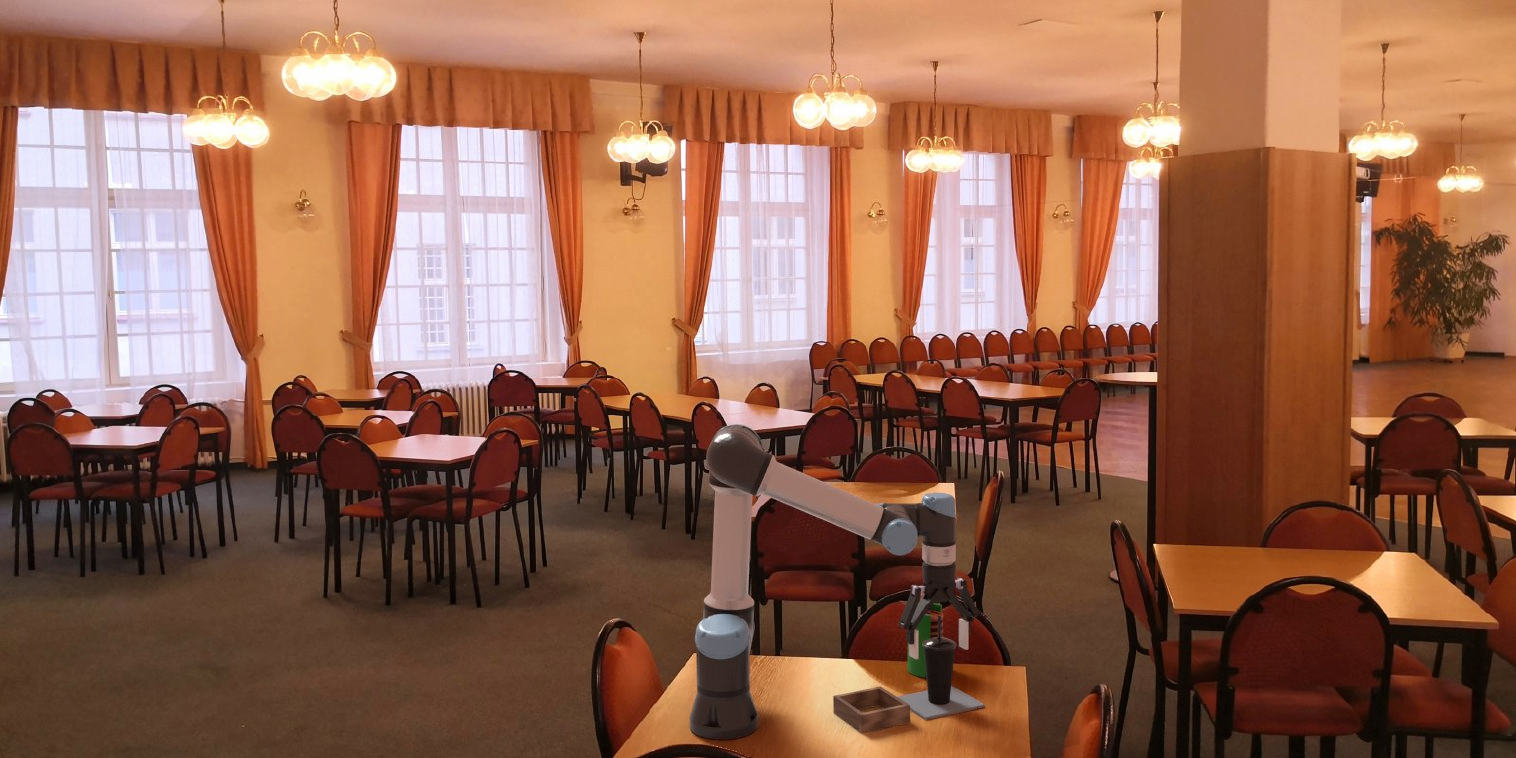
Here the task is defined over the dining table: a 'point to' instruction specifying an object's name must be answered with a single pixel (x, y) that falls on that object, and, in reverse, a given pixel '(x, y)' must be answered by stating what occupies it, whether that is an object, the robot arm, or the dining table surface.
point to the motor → (925, 631)
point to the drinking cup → (939, 667)
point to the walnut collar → (874, 720)
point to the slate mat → (929, 710)
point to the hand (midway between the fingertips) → (938, 652)
